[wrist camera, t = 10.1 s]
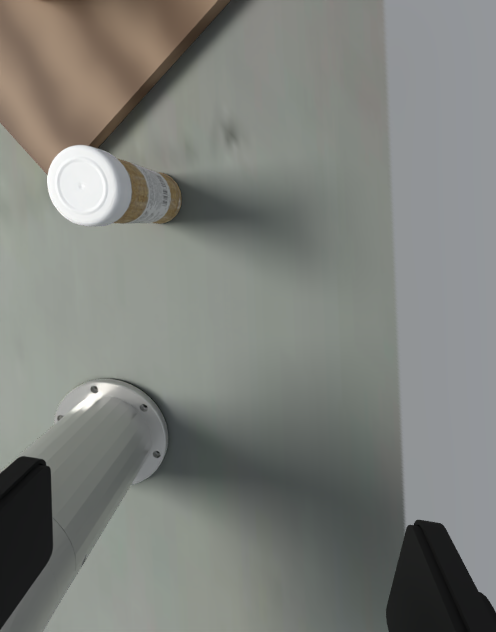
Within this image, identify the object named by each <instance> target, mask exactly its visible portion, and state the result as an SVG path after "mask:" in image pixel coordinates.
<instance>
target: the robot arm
mask: <svg viewBox="0 0 496 632" xmlns="http://www.w3.org/2000/svg"><path fill="white" fill-rule="evenodd" d="M146 405H147V406H146ZM167 447H168V430H167V424H166V422H165V419H164V416H163V414H162V413H161V411H160V409H159V408H158V406H157V405H156V404H155V403H154V401H153V400H152V399H151V398H150V397H149V396H148V395H146V394H145V393H144V392H143V391H142V390H140V389H138V388H136V387H135V386H133V385H131V384H128V383H126V382H123V381H120V380H114V379H95V380H90V381H87V382H85V383H82V384H80V385H79V386H77V387H76V388H74V389H73V390H71V391H70V392H69V393H68V394H67V395H66V396H65V397H64V398H63V399H62V401H61V402H60V404H59V405H58V408H57V410H56V413H55V418H54V425H53V426H52V427H51V428H50V429H48V430H47V431H46V432H45V433H44V434H43V435H41V436H40V437H39V438H38V439H37V440H36V441H34V442H33V443H32V444H31V445H30V446H29V447H27V448H26V449H25V450H24V451H23V452H22V453H21V454H19V455H18V456H17V457H16V458H15V459H14V460H12V461H11V462H10V463H9V464H8V465H7V466H5V467H4V468H3V469H2V470H1V471H0V632H43V631H44V629H45V627H46V625H47V624H48V622H49V620H50V619H51V617H52V615H53V613H54V612H55V610H56V608H57V607H58V605H59V603H60V602H61V600H62V598H63V597H64V595H65V593H66V592H67V590H68V588H69V587H70V585H71V583H72V582H73V580H74V578H75V577H76V575H77V574H78V572H79V570H80V569H81V567H82V565H83V564H84V562H85V560H86V559H87V557H88V555H89V554H90V552H91V550H92V549H93V547H94V545H95V544H96V542H97V540H98V539H99V537H100V536H101V534H102V532H103V531H104V529H105V527H106V526H107V524H108V522H109V521H110V519H111V517H112V516H113V514H114V512H115V511H116V509H117V507H118V506H119V504H120V502H121V501H122V499H123V497H124V496H125V494H126V492H127V491H128V489H129V488H130V486H131V485H133V484H136V483H139V482H142V481H143V480H145V479H147V478H148V477H150V476H151V475H152V474H153V473H154V472H155V471H156V470H157V469H158V467H159V466H160V464H161V462H162V460H163V458H164V456H165V454H166V451H167ZM386 618H387V625H388V630H389V632H496V612H495V610H494V608H493V607H492V605H491V603H490V602H489V600H488V599H487V597H486V596H484V595H483V594H482V593H480V592H478V590H477V588H476V586H475V584H474V582H473V581H472V578H471V576H470V575H469V573H468V571H467V569H466V567H465V565H464V563H463V561H462V559H461V557H460V555H459V554H458V552H457V550H456V548H455V546H454V544H453V542H452V540H451V538H450V536H449V534H448V532H447V530H446V528H445V527H444V526H443V525H442V524H441V523H435V522H429V521H423V520H416V521H415V523H414V525H408V526H407V529H406V533H405V537H404V541H403V545H402V549H401V552H400V556H399V560H398V564H397V568H396V572H395V576H394V580H393V584H392V588H391V592H390V596H389V600H388V604H387V609H386Z"/></svg>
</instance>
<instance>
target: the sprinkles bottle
mask: <svg viewBox="0 0 496 632" xmlns="http://www.w3.org/2000/svg"><path fill="white" fill-rule="evenodd" d="M47 184H48V191H49V195H50V198H51V200H52V202H53V204H54V206H55V207H56V209H57V210H58V211H59V212H60V213H61V214H62V215H63V216H64V217H65V218H66V219H68V220H70V221H71V222H73V223H75V224H79V225H83V226H106V225H109V224H112V223H121V224H124V223H166V222H168V221H171V220H172V219H173V218H174V217H175V216H176V215H177V214H178V212H179V210H180V207H181V201H182V198H181V191H180V189H179V186H178V185H177V183H176V182H175V181H174V180H173V179H172V178H171V177H170V176H168V175H166V174H164V173H158V172H155V171H152V170H149V169H147V168H144V167H142V166H139V165H136V164H133V163H130V162H127V161H124V160H120V159H117V158H116V157H114V156H113V155H112V154H110V153H108V152H106V151H103V150H101V149H98V148H94V147H91V146H86V145H75V146H71V147H68V148H66V149H64V150H62V151H61V152H60V153H59V154H58V155H57V156H56V157H55V158H54V160H53V161H52V163H51V165H50V168H49V171H48V176H47Z"/></svg>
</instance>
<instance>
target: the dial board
mask: <svg viewBox="0 0 496 632" xmlns="http://www.w3.org/2000/svg"><path fill="white" fill-rule="evenodd" d="M230 1H231V0H0V123H1V124H2V125H3V126H4V127H5V128H6V129H7V131H8V132H9V133H10V134H11V135H12V136H13V137H14V138H15V139H16V141H17V142H18V143H19V144H20V145H21V146H22V147H23V148H24V149H25V151H26V152H27V153H28V154H29V155H30V156H31V157H32V158H33V159H34V161H35V162H36V163H37V164H38V165H39V166H40V167H41V168H42V169H43V171H44V172H45V173H46V174H47V175H48V171H49V168H50V165H51V163H52V161H53V160H54V158H55V157H56V156H57V155H58V154H59V153H60V152H61V151H62V150H64V149H66V148H68V147H71V146H75V145H86V146H91V147H94V148H98V147H99V146H100V145H101V144H102V143H103V142H104V141H105V140H106V138H107V137H108V136H109V135H110V134H111V133H112V132H113V131H114V130H115V128H116V127H117V126H118V125H119V124H120V123H121V122H122V121H123V120H124V118H125V117H126V116H127V115H128V114H129V113H130V112H131V111H132V110H133V108H134V107H135V106H136V105H137V104H138V103H139V102H140V101H141V100H142V98H143V97H144V96H145V95H146V94H147V93H148V92H149V91H150V90H151V88H152V87H153V86H154V85H155V84H156V83H157V82H158V81H159V80H160V78H161V77H162V76H163V75H164V74H165V73H166V72H167V71H168V70H169V68H170V67H171V66H172V65H173V64H174V63H175V62H176V61H177V60H178V58H179V57H180V56H181V55H182V54H183V53H184V52H185V51H186V50H187V49H188V47H189V46H190V45H191V44H192V43H193V42H194V41H195V40H196V39H197V37H198V36H199V35H200V34H201V33H202V32H203V31H204V30H205V29H206V27H207V26H208V25H209V24H210V23H211V22H212V21H213V20H214V19H215V17H216V16H217V15H218V14H219V13H220V12H221V11H222V10H223V9H224V7H225V6H226V5H227V4H228V3H229V2H230Z"/></svg>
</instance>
